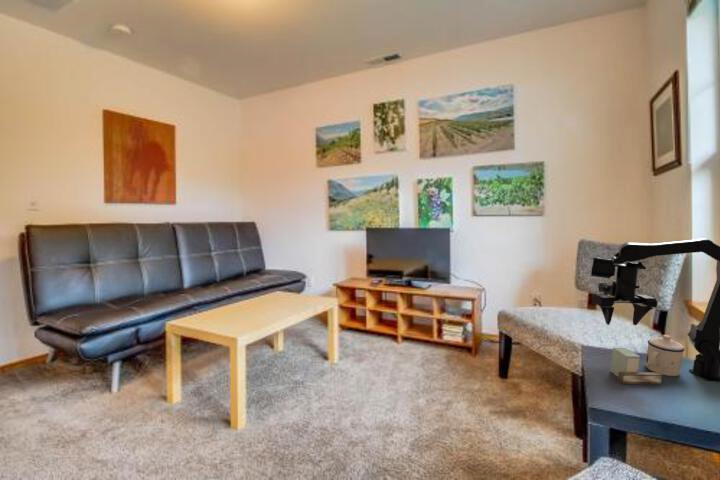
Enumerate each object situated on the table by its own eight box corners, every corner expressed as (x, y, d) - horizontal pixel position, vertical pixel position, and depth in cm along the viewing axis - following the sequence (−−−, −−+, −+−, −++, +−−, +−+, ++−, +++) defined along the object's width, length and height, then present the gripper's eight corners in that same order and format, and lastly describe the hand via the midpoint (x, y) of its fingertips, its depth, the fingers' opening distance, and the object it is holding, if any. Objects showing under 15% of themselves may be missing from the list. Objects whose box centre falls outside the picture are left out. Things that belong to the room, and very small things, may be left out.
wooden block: (657, 381, 111) (658, 372, 111) (661, 384, 109) (662, 375, 109) (617, 381, 111) (618, 371, 111) (621, 384, 109) (622, 374, 109)
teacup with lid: (653, 361, 125) (657, 328, 123) (686, 373, 117) (691, 338, 115) (634, 368, 119) (638, 334, 118) (667, 381, 111) (672, 345, 110)
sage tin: (622, 371, 117) (625, 347, 116) (637, 381, 111) (640, 356, 110) (610, 371, 117) (612, 347, 116) (624, 381, 111) (627, 356, 110)
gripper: (636, 275, 131) (631, 317, 133) (584, 274, 131) (579, 316, 133) (661, 283, 120) (655, 328, 122) (604, 282, 120) (599, 327, 122)
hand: (621, 324), depth 125 cm, fingers open, 9 cm apart
